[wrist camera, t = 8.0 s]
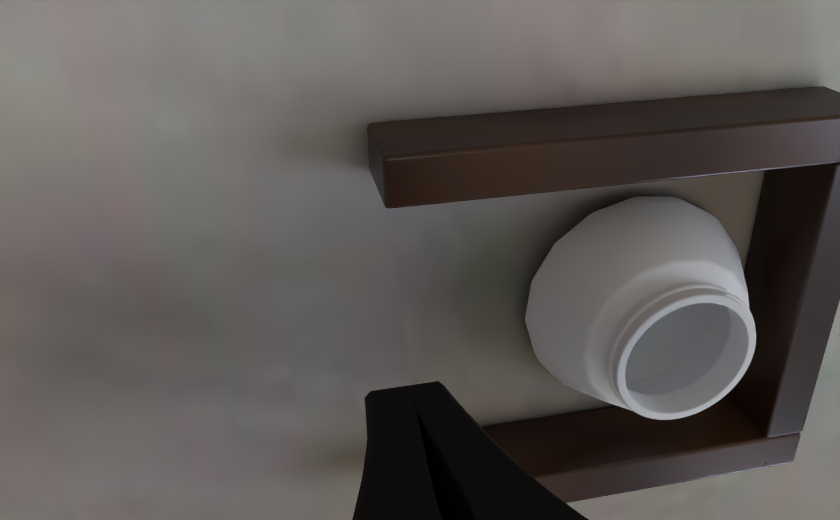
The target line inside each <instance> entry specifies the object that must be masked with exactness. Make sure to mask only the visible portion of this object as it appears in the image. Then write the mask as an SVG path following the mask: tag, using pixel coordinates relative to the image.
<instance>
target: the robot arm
mask: <svg viewBox="0 0 840 520" xmlns="http://www.w3.org/2000/svg"><path fill="white" fill-rule="evenodd" d="M365 408H366V422H367V448H366V455H365V462H364V469H363V476H362V481H361V485H360V490H359V494H358V498H357V503H356V507H355V512H354V516H353V519H352V520H588V519H587V518H585V517H584V516H582V515H581V514H580V513H578V512H577V511H575V510H574V509H573V508H571V507H570V506H569V505H567V504H566V503H565V502H563V501H562V500H561V499H559V498H558V497H557V496H556V495H554V494H553V493H552V492H550V491H549V490H548V489H547V488H546V487H544V486H543V485H542V484H541V483H540V482H538V481H537V480H536V479H535V478H534V477H533V476H531V475H530V474H529V473H528V472H527V471H526V470H524V469H523V468H522V467H521V466H520V465H519V464H518V463H517V462H516V461H515V460H513V459H512V458H511V457H510V456H509V455H508V454H507V453H506V452H505V451H504V450H503V449H502V448H501V447H500V446H499V445H498V444H497V443H496V442H495V441H494V440H493V439H492V438H491V437H490V436H489V435H488V434H487V433H486V432H485V431H484V430H483V429H482V428H481V427H480V426H479V425H478V424H477V423H476V422H475V421H474V420H473V418H472V417H471V416H470V415H469V414H468V413H467V412H466V411H465V410H464V409H463V407H462V406H461V405H460V404H459V403H458V402H457V401H456V399H455V398H454V397H453V396H452V395H451V394H450V392H449V391H448V390H447V389H446V387H445V386H444V385H442V384H441V383H440V382H439V381H437V382H430V383H423V384H416V385H409V386H403V387H396V388H389V389H382V390H375V391H371V392H370V393H369V394H368V395H367V396H366V397H365Z"/></svg>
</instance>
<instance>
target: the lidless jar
mask: <svg viewBox="0 0 840 520" xmlns="http://www.w3.org/2000/svg"><path fill="white" fill-rule="evenodd" d="M525 322H526V326H527V329H528V333H529V336H530V340H531V344H532V347H533V351H534V354H535V355H536V357H537V359H538V360H539V362H540V363H541V364H542V365H543V366H544V367H545V368H546V369H547V370H548V371H549V372H550V373H551V374H552V375H553V376H554V377H555V378H556V379H557V380H558V381H559V382H560V383H561V384H562V385H563V386H566V387H568V388H571V389H574V390H576V391H579V392H581V393H584V394H586V395H589V396H592V397H594V398H597V399H599V400H602V401H604V402H607V403H610V404H613V405H616V406H619V407H622V408H625V409H628V410H631V411H634V412H635V413H637V414H639V415H641V416H644V417H647V418H651V419H657V420H671V419H678V418H683V417H687V416H690V415H693V414H696V413H698V412H700V411H702V410H704V409H706V408H708V407H710V406H712V405H713V404H715V403H716V402H718V401H719V400H720V399H722V398H723V397H724V396H725V395H726V394H728V393H729V392H730V391H731V390H732V389H733V388H734V387H735V386H736V384H737V383H738V382H739V381H740V379H741V378H742V377H743V375H744V374H745V372H746V370H747V369H748V367H749V365H750V363H751V360H752V357H753V354H754V351H755V346H756V330H755V322H754V319H753V316H752V314H751V312H750V310H749V299H748V290H747V286H746V282H745V277H744V273H743V269H742V265H741V260H740V256H739V252H738V248H737V247H736V245H735V244H734V242H733V241H732V239H731V238H730V236H729V235H728V233H727V232H726V230H725V229H724V227H723V226H722V224H721V223H720V221H719V220H718V219H717V218H716V217H714V216H713V215H711V214H710V213H708V212H706V211H704V210H702V209H700V208H698V207H696V206H694V205H692V204H690V203H688V202H686V201H684V200H682V199H680V198H678V197H632V198H630V199H627V200H624V201H622V202H619V203H617V204H614V205H611V206H609V207H606V208H603V209H601V210H598V211H595V212H593V213H591V214H590V215H588V216H587V217H586V218H585V219H584V220H582V221H581V222H580V223H579V224H577V225H576V226H575V227H574V228H573V229H571V230H570V231H569V232H568V233H567V234H565V235H564V236H563V237H562V238H560V239H559V240H558V241H557V242H556V243H555V244H554V245H553V247H552V249H551V250H550V252H549V254H548V255H547V257H546V258H545V260H544V262H543V263H542V265H541V267H540V268H539V270H538V271H537V273H536V275H535V276H534V278H533V280H532V282H531V287H530V293H529V299H528V304H527V310H526V315H525Z"/></svg>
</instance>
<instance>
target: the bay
mask: <svg viewBox="0 0 840 520" xmlns="http://www.w3.org/2000/svg"><path fill="white" fill-rule="evenodd" d="M367 136H368V154H369V169H370V172H371V174H372V176H373V179H374V181H375V184H376V186H377V188H378V191H379V193H380V195H381V198H382V200H383V203H384V205H385V207H386V208H398V207H408V206H418V205H428V204H438V203H447V202H457V201H467V200H477V199H487V198H496V197H506V196H516V195H526V194H536V193H545V192H555V191H565V190H575V189H585V188H594V187H604V186H614V185H624V184H634V183H643V182H653V181H663V180H673V179H683V178H692V177H702V176H712V175H722V174H732V173H741V172H751V171H761V170H767V172H766V177H765V181H764V186H763V191H762V196H761V200H760V205H759V210H758V215H757V219H756V224H755V229H754V234H753V238H752V243H751V248H750V253H749V258H748V262H747V267H746V272H745V282H746V286H747V290H748V299H749V310H750V312H751V314H752V316H753V319H754V322H755V330H756V346H755V351H754V354H753V357H752V360H751V363H750V365H749V367H748V369H747V370H746V372H745V374H744V375H743V377H742V378H741V379H740V381H739V382H738V383H737V384H736V386H735V387H734V388H733V389H732V390H731V391H730V392H729V393H728V394H726V395H725V396H724V397H723V398H722V399H720V400H719V401H718V402H716V403H715V404H713V405H712V406H710V407H708V408H706V409H704V410H702V411H700V412H698V413H696V414H693V415H690V416H687V417H683V418H678V419H671V420H657V419H651V418H647V417H644V416H641V415H639V414H637V413H635V412H634V411H631V410H628V409H625V408H622V407H619V406H617V407H611V408H604V409H598V410H592V411H585V412H579V413H572V414H566V415H560V416H553V417H547V418H541V419H534V420H528V421H522V422H515V423H509V424H502V425H496V426H490V427H483V428H482V429H483V430H484V431H485V432H486V433H487V434H488V435H489V436H490V437H491V438H492V439H493V440H494V441H495V442H496V443H497V444H498V445H499V446H500V447H501V448H502V449H503V450H504V451H505V452H506V453H507V454H508V455H509V456H510V457H511V458H512V459H513V460H515V461H516V462H517V463H518V464H519V465H520V466H521V467H522V468H523V469H524V470H526V471H527V472H528V473H529V474H530V475H531V476H533V477H534V478H535V479H536V480H537V481H538V482H540V483H541V484H542V485H543V486H544V487H546V488H547V489H548V490H549V491H550V492H552V493H553V494H554V495H556V496H557V497H558V498H559V499H561V500H562V501H563V502H565V503H568V502H574V501H579V500H585V499H591V498H596V497H602V496H607V495H613V494H618V493H624V492H630V491H635V490H641V489H646V488H652V487H658V486H663V485H669V484H674V483H680V482H686V481H691V480H697V479H702V478H708V477H714V476H719V475H725V474H730V473H736V472H742V471H747V470H753V469H758V468H764V467H770V466H775V465H781V464H786V463H791V462H792V461H793V460H794V456H795V453H796V449H797V445H798V442H799V438H800V432H801V431H802V430H803V427H804V423H805V420H806V416H807V413H808V409H809V405H810V402H811V398H812V395H813V391H814V388H815V384H816V381H817V377H818V374H819V370H820V367H821V363H822V360H823V356H824V353H825V349H826V345H827V342H828V338H829V335H830V331H831V328H832V324H833V321H834V317H835V314H836V310H837V307H838V303H839V300H840V92H837V91H834V90H832V89H829V88H826V87H811V88H799V89H787V90H774V91H762V92H750V93H738V94H725V95H713V96H701V97H689V98H677V99H664V100H652V101H640V102H628V103H615V104H603V105H591V106H579V107H566V108H554V109H542V110H530V111H518V112H505V113H493V114H481V115H469V116H456V117H444V118H432V119H420V120H407V121H395V122H383V123H371V124H369V125H368V127H367Z"/></svg>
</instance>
